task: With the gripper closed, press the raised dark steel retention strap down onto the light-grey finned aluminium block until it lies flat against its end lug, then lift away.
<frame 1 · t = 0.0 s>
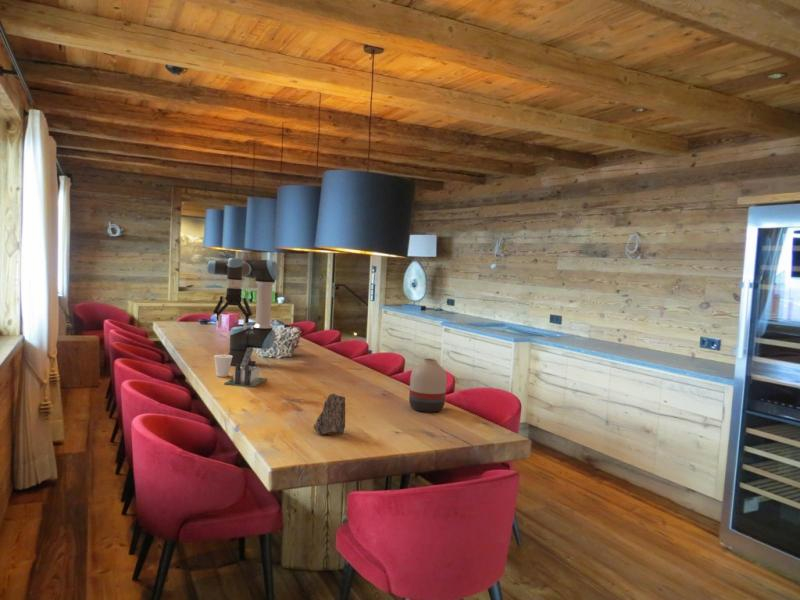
hand: (232, 328, 299), 28 cm above the table, fingers open, 13 cm apart
green circuit board: (246, 382, 301), on the table
vase: (426, 409, 269), on the table
cup: (222, 376, 312), on the table
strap: (246, 358, 299), point 13 cm above the table, hinge at 40.0°
stone: (329, 433, 222), on the table
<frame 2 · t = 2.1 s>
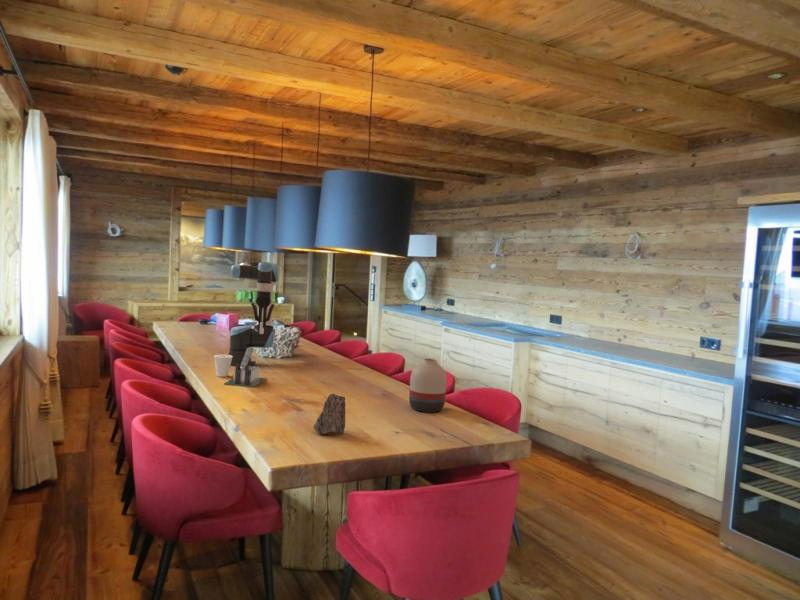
hand: (261, 333, 315), 24 cm above the table, fingers closed
nothing on the table moved.
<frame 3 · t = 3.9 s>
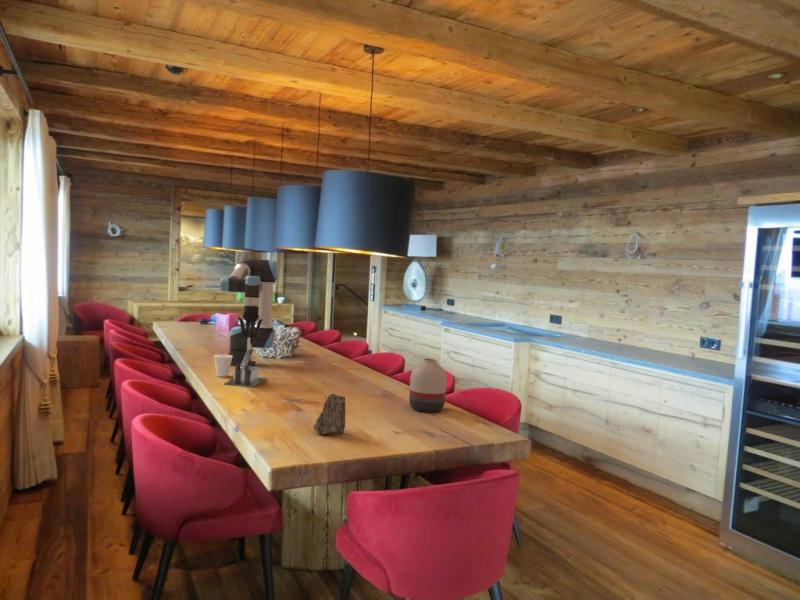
hand: (249, 349, 302), 17 cm above the table, fingers closed
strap: (246, 359, 299), point 12 cm above the table, hinge at 37.6°, touching gripper
everything else where it was.
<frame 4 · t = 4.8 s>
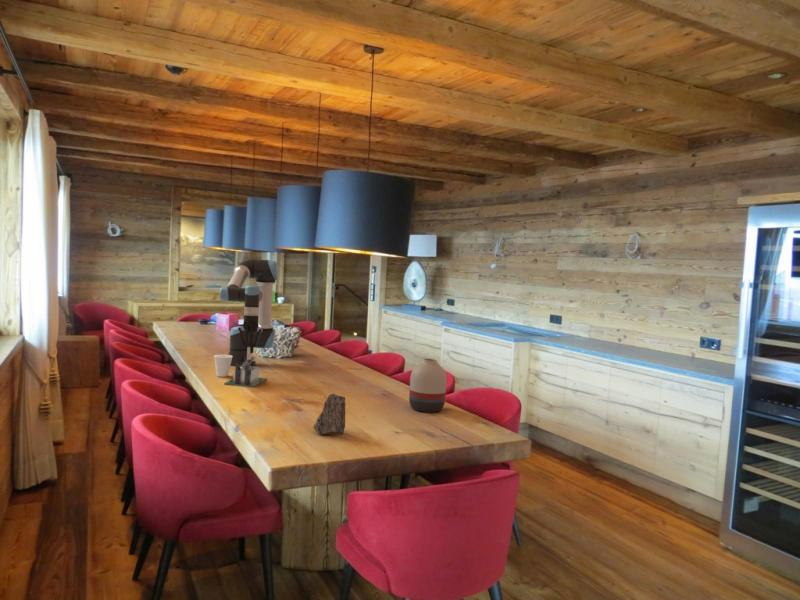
hand: (248, 359, 302), 12 cm above the table, fingers closed
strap: (246, 363, 300), point 10 cm above the table, hinge at 15.0°, touching gripper
everything else where it was.
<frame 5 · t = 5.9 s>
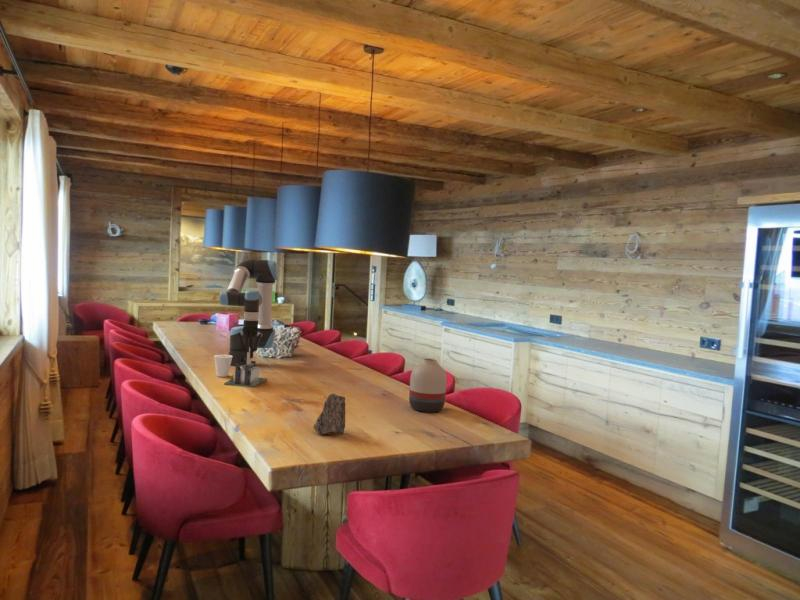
hand: (248, 364, 303), 9 cm above the table, fingers closed
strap: (246, 366, 300), point 9 cm above the table, hinge at 1.8°, touching gripper
everything else where it was.
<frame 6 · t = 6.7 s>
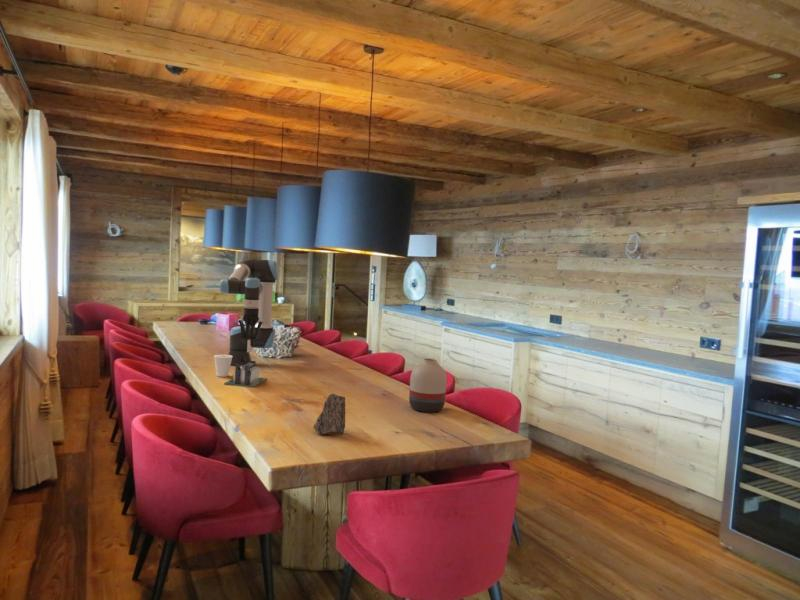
hand: (249, 351, 303), 16 cm above the table, fingers closed
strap: (246, 366, 300), point 9 cm above the table, hinge at 1.8°
everything else where it was.
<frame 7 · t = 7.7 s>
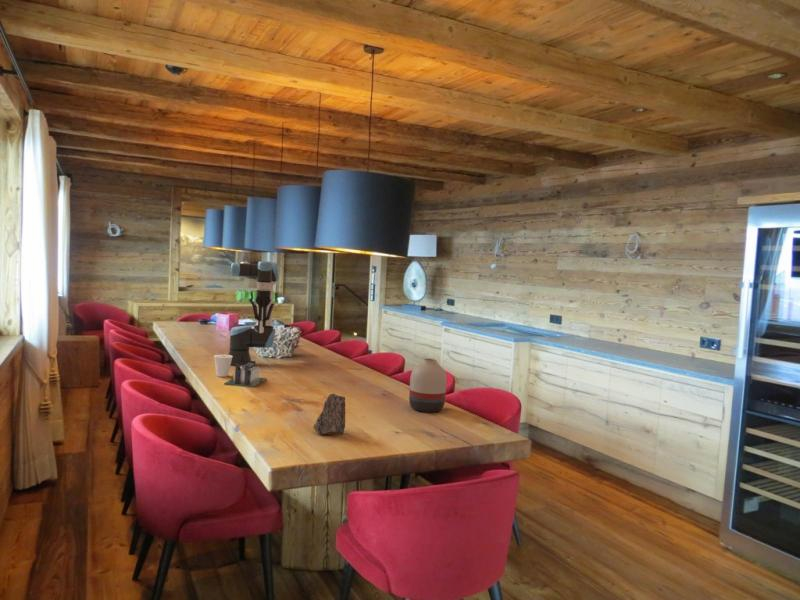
hand: (261, 332, 314), 25 cm above the table, fingers closed
nothing on the table moved.
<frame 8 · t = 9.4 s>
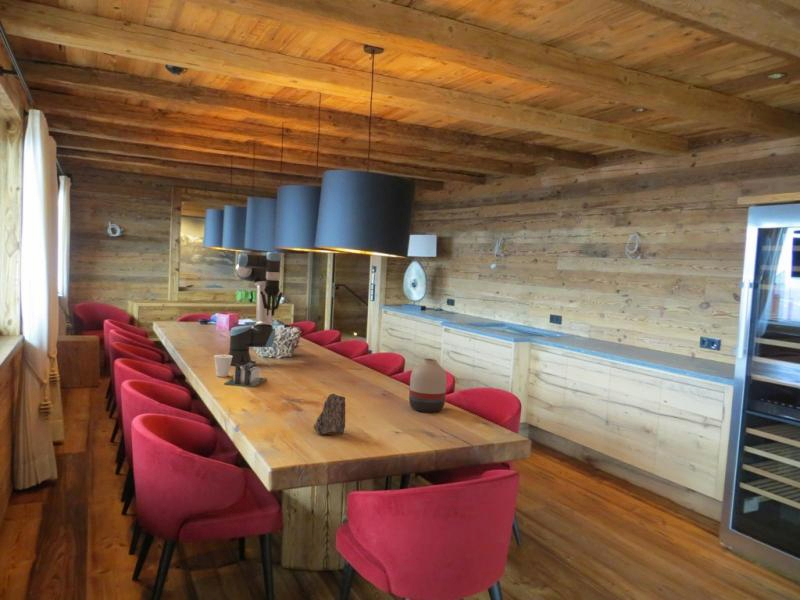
hand: (270, 321, 322), 30 cm above the table, fingers closed
nothing on the table moved.
at the end: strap at +2° (first picture: +40°) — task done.
